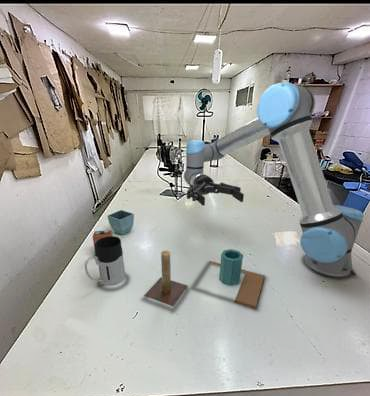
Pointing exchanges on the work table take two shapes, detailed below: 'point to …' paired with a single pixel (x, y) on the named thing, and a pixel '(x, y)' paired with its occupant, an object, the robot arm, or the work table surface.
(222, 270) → the sleeve
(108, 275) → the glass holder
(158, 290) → the peg stand
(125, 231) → the flower pot
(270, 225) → the work table surface
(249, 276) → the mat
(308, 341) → the work table surface
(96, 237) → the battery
